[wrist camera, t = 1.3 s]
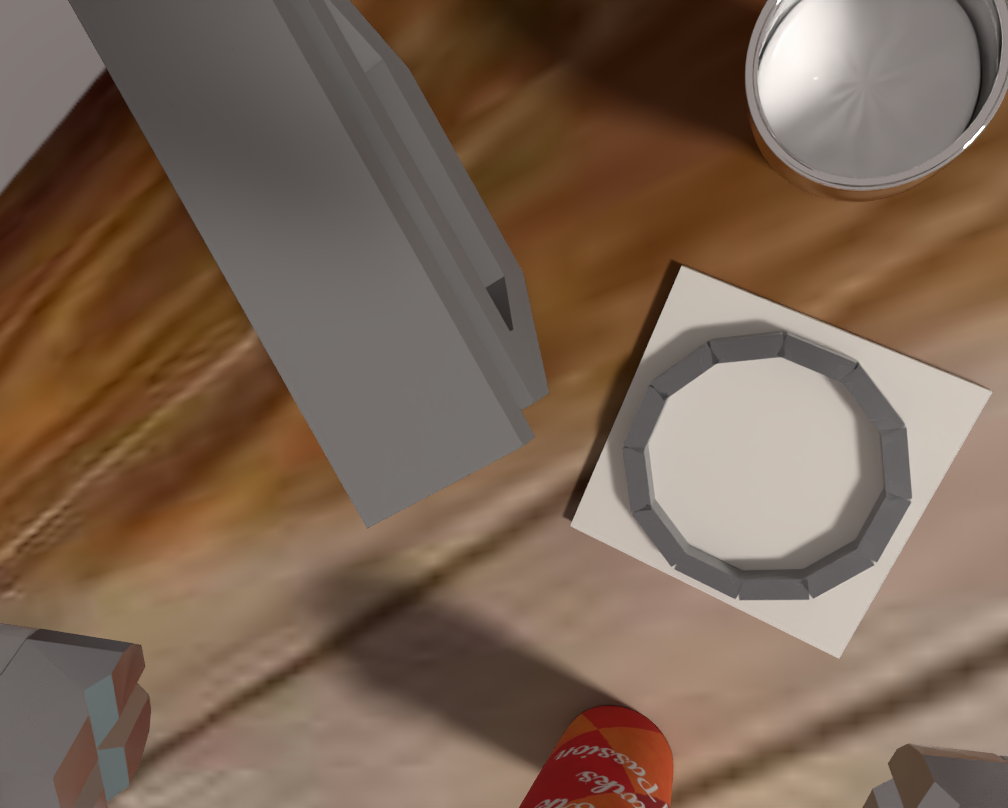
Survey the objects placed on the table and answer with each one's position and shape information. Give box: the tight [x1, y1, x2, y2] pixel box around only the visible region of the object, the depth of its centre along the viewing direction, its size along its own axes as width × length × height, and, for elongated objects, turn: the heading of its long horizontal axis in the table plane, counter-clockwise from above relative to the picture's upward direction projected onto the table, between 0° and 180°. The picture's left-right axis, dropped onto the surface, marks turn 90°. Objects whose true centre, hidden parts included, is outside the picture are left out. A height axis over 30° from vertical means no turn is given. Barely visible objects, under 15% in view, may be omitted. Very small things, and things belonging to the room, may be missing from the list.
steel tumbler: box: [745, 0, 1008, 202], centre depth 29 cm, size 7×7×15 cm
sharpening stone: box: [68, 0, 549, 528], centre depth 38 cm, size 25×8×11 cm, turn 31°
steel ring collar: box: [622, 331, 912, 600], centre depth 39 cm, size 12×12×1 cm
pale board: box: [570, 265, 992, 658], centre depth 40 cm, size 14×14×1 cm
